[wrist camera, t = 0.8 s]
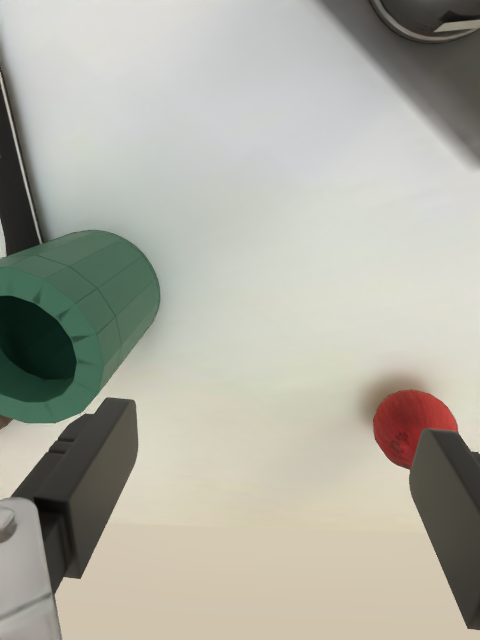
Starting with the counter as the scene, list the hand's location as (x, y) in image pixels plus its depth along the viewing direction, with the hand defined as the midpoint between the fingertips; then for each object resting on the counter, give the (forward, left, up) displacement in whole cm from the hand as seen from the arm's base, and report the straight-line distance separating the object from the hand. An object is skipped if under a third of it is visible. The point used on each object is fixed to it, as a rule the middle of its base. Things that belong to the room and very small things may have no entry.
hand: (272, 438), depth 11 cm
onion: (+12, +10, -20) cm, 25 cm away
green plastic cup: (+1, -14, -19) cm, 24 cm away
